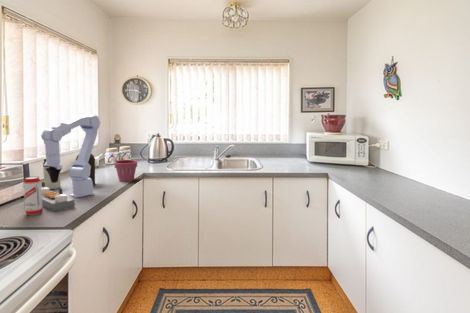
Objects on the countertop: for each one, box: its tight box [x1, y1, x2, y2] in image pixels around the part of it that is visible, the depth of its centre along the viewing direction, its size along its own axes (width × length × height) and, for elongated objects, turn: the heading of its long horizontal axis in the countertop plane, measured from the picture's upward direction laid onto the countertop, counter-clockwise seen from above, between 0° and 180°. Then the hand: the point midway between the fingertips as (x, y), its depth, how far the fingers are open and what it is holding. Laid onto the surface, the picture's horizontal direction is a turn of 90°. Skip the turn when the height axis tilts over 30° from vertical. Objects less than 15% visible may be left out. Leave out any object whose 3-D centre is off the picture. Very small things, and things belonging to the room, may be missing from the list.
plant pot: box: [113, 159, 138, 183], centre depth 200 cm, size 14×14×13 cm
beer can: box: [23, 175, 44, 216], centre depth 131 cm, size 6×6×16 cm
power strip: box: [42, 190, 76, 213], centre depth 146 cm, size 9×26×4 cm, turn 52°
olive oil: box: [75, 153, 96, 186], centre depth 185 cm, size 11×11×25 cm
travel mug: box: [42, 156, 61, 190], centre depth 176 cm, size 8×8×18 cm
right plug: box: [55, 187, 68, 202], centre depth 139 cm, size 4×4×6 cm
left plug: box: [41, 181, 51, 194], centre depth 151 cm, size 4×4×6 cm
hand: (54, 182), depth 146 cm, fingers closed
